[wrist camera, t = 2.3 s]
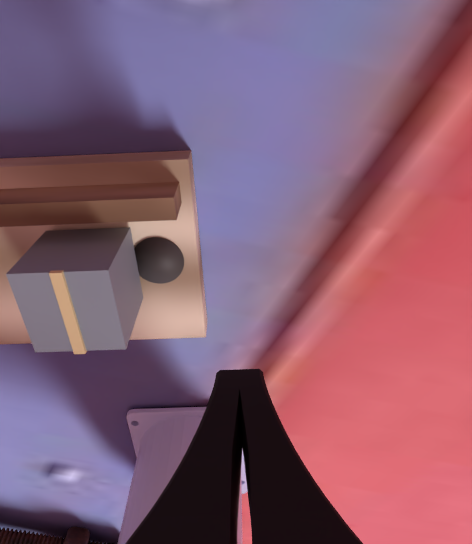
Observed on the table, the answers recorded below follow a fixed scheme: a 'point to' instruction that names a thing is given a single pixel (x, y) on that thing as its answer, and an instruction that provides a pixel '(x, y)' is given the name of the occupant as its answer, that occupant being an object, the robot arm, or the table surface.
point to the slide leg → (78, 290)
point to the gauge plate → (111, 214)
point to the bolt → (46, 537)
